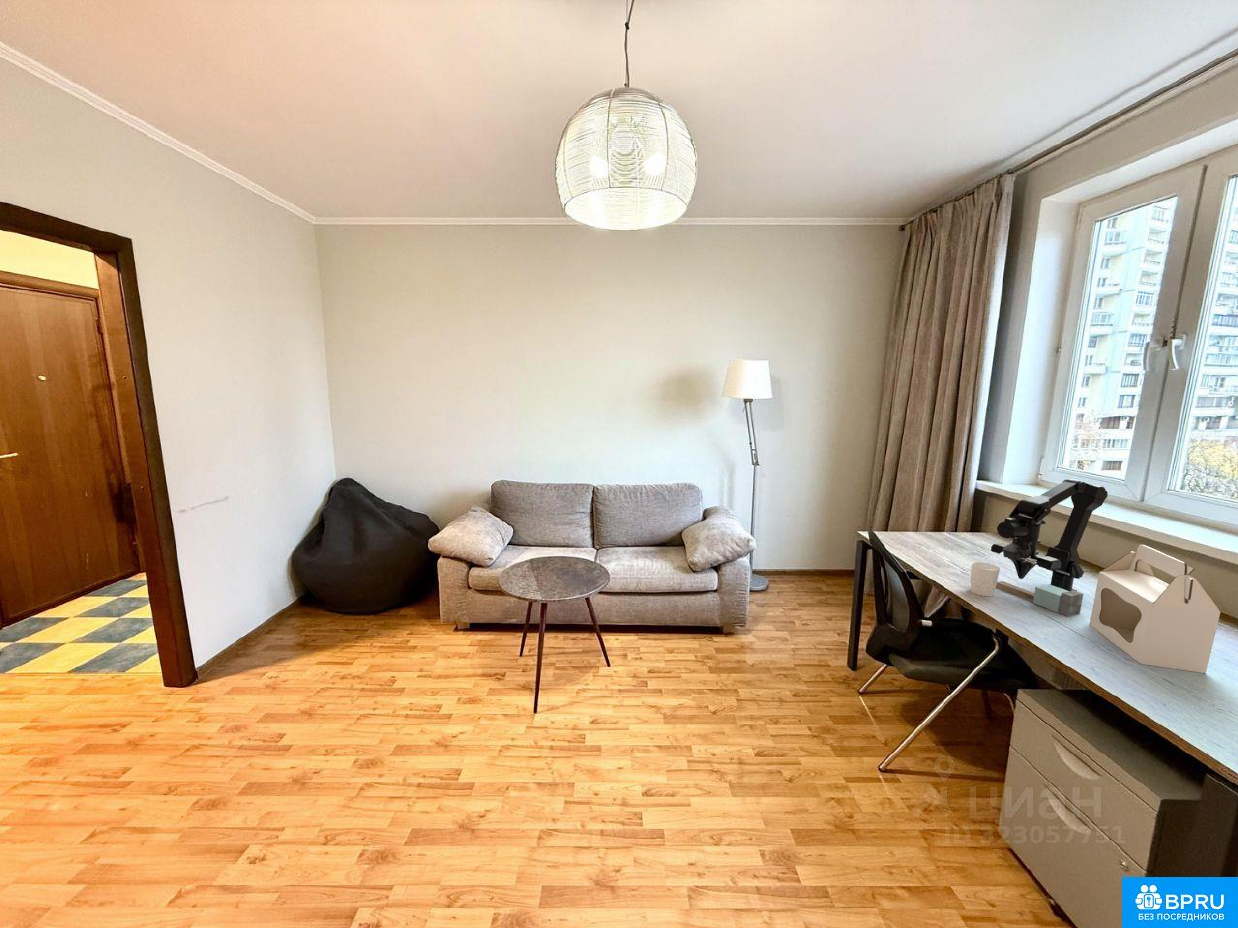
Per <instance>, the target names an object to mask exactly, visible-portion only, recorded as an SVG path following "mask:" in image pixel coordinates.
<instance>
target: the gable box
mask: <svg viewBox="0 0 1238 928" xmlns="http://www.w3.org/2000/svg"><path fill="white" fill-rule="evenodd" d="M1151 566H1152V567H1153V568H1155V569H1158V570H1160V571H1162V572H1164V573H1165V574H1168V575H1170V576H1172V577H1173V579H1172V581H1171V582H1169V583H1167V582H1166V581H1163V580H1161V579H1159V578H1157V577H1155V574H1154V573H1153V572H1154V571H1153V570H1152V568H1151ZM1193 571H1195V568H1193V567H1191V566H1189V565H1187V563H1186V562H1184V561H1183V560H1179V559H1177V558H1175V557H1174V556H1170V555H1168V554H1165V553H1164V552H1162V551H1159V550H1157V549H1155V548H1152V547H1150V546H1147V545H1145V544H1139V545H1138V547H1137V550H1136V551H1132V550H1130V552H1128V553H1127V554H1125V555H1123V556H1122V557H1120V558H1118V559H1117V560H1115V561H1114V562H1112V563H1111V564H1109V565H1108V566H1107V567H1104V568H1103V569H1102V570H1101V571H1099V572H1098V576H1097V577H1098V578H1097V582H1096V589H1095V593H1094V598H1093V604H1092V609H1091V614H1090V618H1089V626H1090V627H1092V628H1093V629H1094V630H1095V631H1097V633H1100V634H1101V635H1102V636H1103V637H1105V639H1107V640H1109V641H1110V642H1111V643H1112V644H1114V645H1115V646H1117V647H1118V648H1119V649H1120V650H1122V651H1123V652H1125V653H1126V654H1127V655H1128V656H1130V658H1132V659H1133V660H1135V661H1136V662H1137V663H1139V664H1140V665H1146V666H1153V667H1159V668H1166V669H1175V670H1180V671H1185V672H1186V671H1187V672H1192V673H1201V674H1206V673H1207V670H1208V666H1209V661H1210V657H1211V653H1212V649H1213V645H1214V641H1215V636H1216V633H1217V630H1218V629H1217V627H1218V623H1219V619H1220V617H1221V616H1220V615H1221V609H1219V608H1218V606H1217V605H1216V604H1215V603H1214V601H1213V600H1212V598H1211V597H1210V596H1209V595H1208V593H1207V591H1205V589H1204V588H1203V586H1202V585H1201V583H1200V582H1199V581H1198V580H1197V579H1196V578H1195V577H1193V576H1192V575H1190V574H1192V573H1193Z"/></svg>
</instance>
